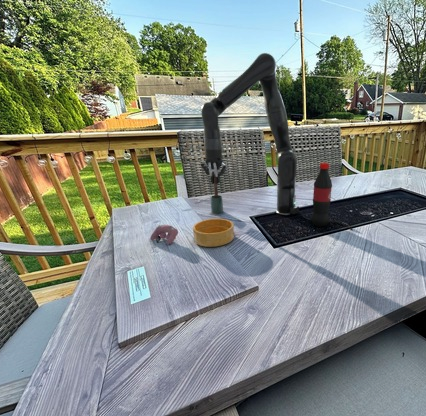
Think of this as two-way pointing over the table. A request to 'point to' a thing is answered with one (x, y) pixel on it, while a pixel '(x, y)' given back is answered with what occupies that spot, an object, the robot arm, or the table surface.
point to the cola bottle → (322, 197)
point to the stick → (215, 186)
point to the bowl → (213, 232)
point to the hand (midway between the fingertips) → (215, 183)
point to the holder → (216, 204)
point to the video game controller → (162, 232)
